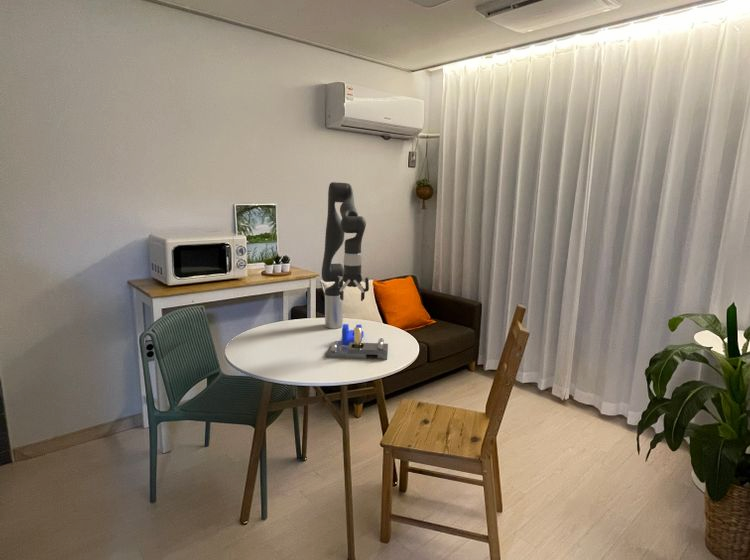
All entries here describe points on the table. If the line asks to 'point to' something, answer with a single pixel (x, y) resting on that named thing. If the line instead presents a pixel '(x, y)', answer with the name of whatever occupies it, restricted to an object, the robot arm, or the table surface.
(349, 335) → the bracket
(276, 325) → the table surface
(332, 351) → the grey plate with pins
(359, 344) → the pin
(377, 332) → the table surface
